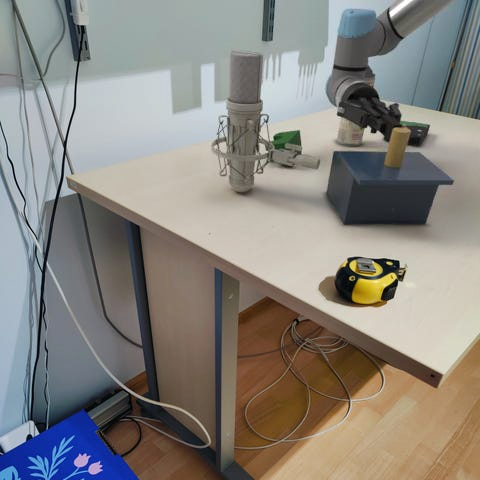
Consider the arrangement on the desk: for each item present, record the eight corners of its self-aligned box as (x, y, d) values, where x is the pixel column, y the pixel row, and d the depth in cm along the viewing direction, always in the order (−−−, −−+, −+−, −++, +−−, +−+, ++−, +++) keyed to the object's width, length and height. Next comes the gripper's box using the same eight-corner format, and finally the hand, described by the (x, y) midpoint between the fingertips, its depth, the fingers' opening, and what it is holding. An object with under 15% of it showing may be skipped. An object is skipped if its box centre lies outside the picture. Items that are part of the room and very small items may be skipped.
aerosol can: (356, 148, 114) (374, 63, 102) (332, 143, 117) (347, 59, 104) (364, 142, 119) (382, 59, 106) (341, 137, 121) (356, 56, 109)
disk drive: (420, 147, 117) (427, 133, 128) (423, 137, 116) (430, 123, 126) (382, 141, 121) (393, 128, 131) (385, 130, 119) (395, 118, 129)
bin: (398, 194, 91) (410, 151, 85) (425, 224, 80) (441, 178, 75) (326, 194, 90) (333, 150, 84) (343, 224, 79) (353, 177, 73)
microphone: (298, 221, 80) (319, 69, 64) (199, 193, 87) (196, 52, 72) (322, 198, 88) (346, 59, 72) (230, 175, 96) (233, 45, 80)
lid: (418, 156, 83) (429, 119, 78) (452, 185, 72) (468, 143, 67) (337, 155, 81) (343, 117, 77) (359, 184, 70) (368, 142, 66)
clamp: (279, 170, 111) (279, 134, 109) (301, 169, 109) (301, 131, 107) (263, 166, 100) (262, 125, 98) (287, 164, 98) (287, 121, 96)
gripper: (381, 119, 95) (424, 155, 77) (325, 118, 94) (355, 154, 76) (390, 82, 90) (438, 110, 72) (331, 80, 89) (365, 109, 71)
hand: (396, 133), depth 74 cm, fingers closed
